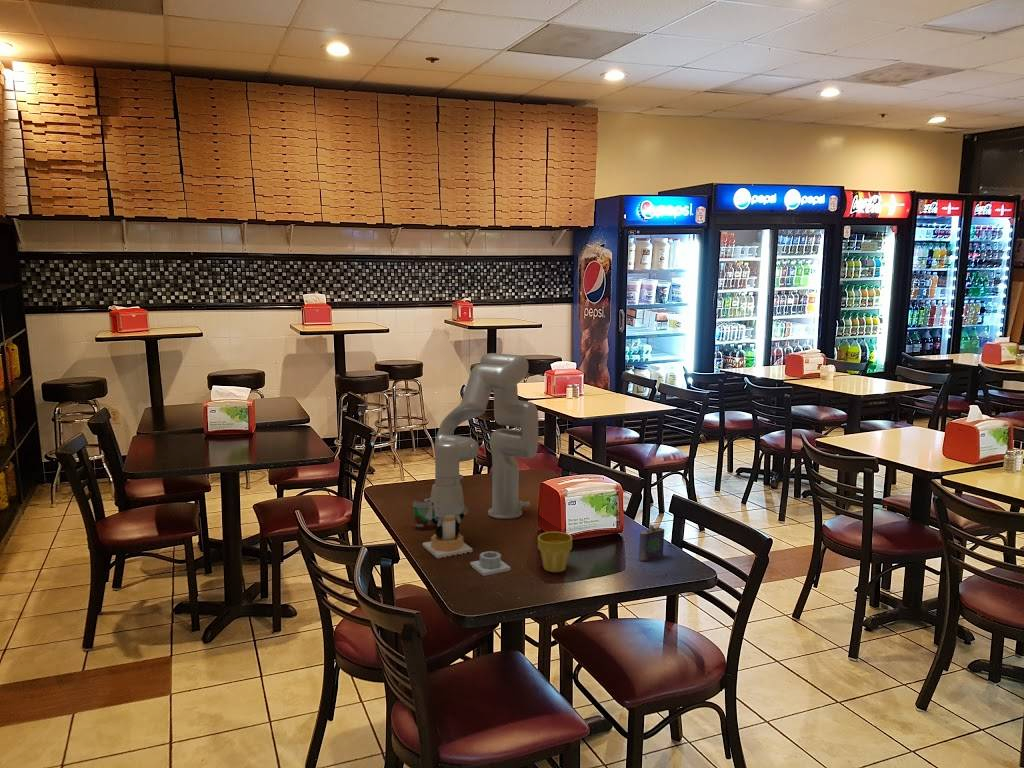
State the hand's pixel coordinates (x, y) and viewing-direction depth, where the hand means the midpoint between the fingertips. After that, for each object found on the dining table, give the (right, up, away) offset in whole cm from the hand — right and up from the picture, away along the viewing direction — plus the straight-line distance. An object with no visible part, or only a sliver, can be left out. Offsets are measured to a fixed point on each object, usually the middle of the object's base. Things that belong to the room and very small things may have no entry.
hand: (447, 535), depth 238 cm
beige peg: (0, -2, 0) cm, 2 cm away
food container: (-7, -2, +22) cm, 23 cm away
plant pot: (+33, -7, -14) cm, 37 cm away
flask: (+64, -6, -5) cm, 64 cm away
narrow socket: (+14, -7, -14) cm, 21 cm away
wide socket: (0, -5, +1) cm, 5 cm away
